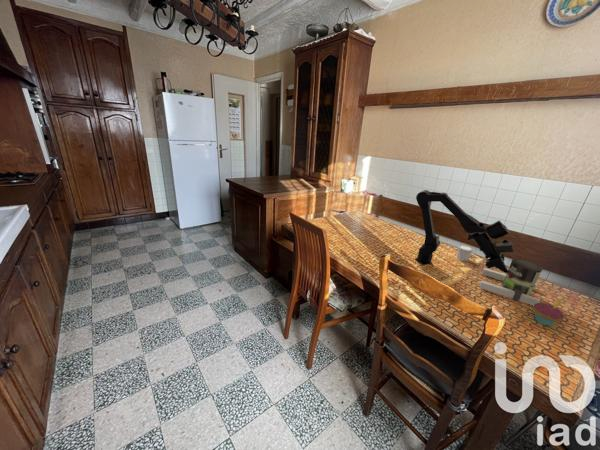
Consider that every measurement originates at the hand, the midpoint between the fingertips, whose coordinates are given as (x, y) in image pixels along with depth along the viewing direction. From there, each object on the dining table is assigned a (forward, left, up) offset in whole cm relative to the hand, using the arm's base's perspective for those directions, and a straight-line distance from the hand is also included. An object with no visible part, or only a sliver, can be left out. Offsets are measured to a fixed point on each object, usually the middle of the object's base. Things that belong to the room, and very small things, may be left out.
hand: (506, 272), depth 111 cm
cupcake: (-6, -22, -8) cm, 24 cm away
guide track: (+1, -2, -8) cm, 8 cm away
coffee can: (+3, -4, -8) cm, 9 cm away
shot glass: (+3, +26, -8) cm, 27 cm away
